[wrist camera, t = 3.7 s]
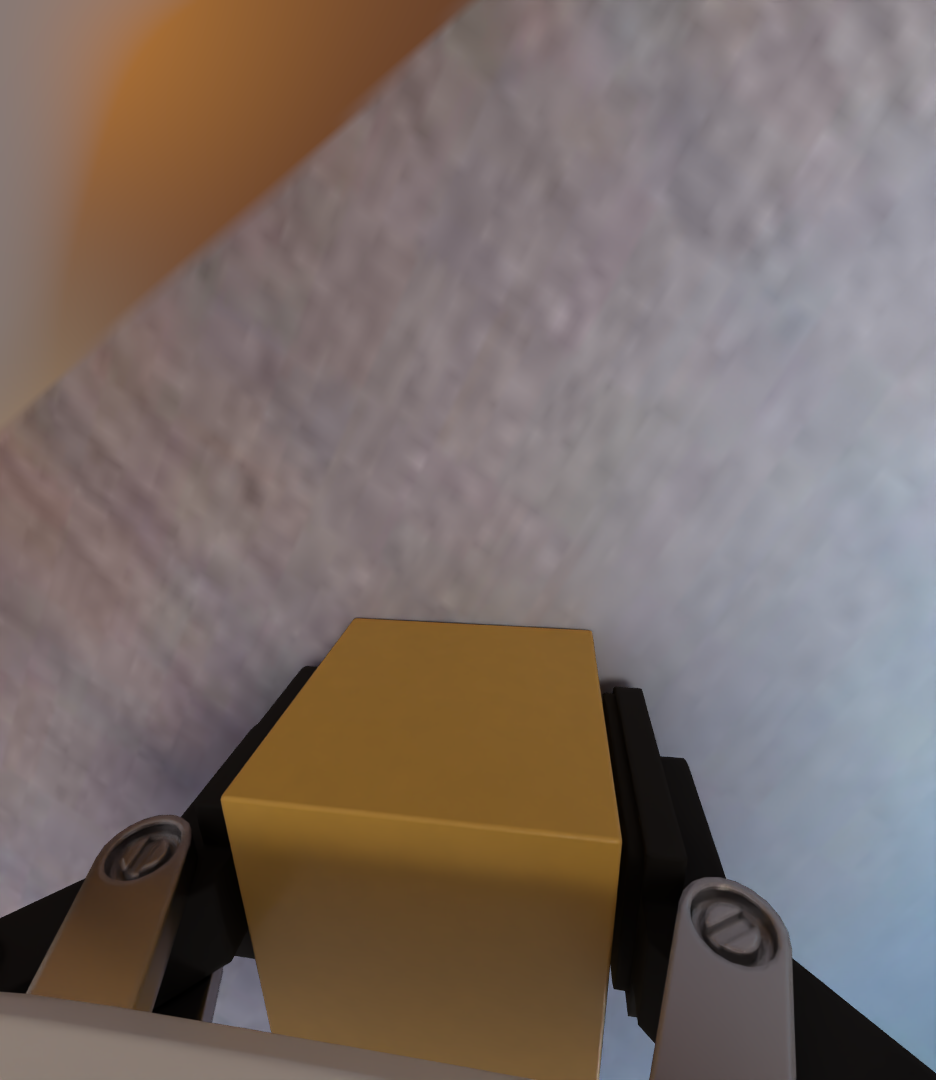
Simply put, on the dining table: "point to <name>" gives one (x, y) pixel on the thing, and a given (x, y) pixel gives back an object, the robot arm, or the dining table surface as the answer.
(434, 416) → the dining table surface
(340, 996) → the ochre block
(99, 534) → the dining table surface
